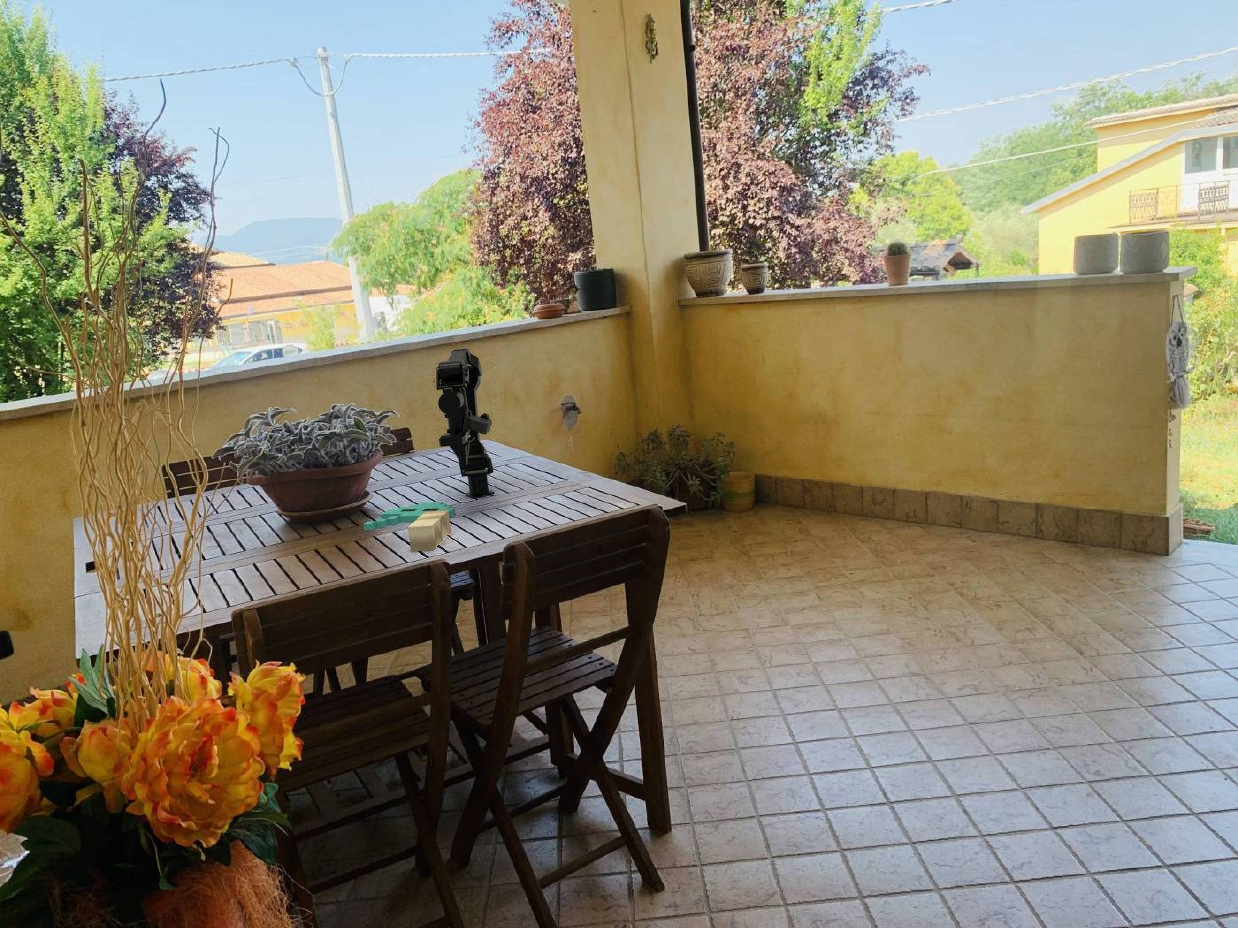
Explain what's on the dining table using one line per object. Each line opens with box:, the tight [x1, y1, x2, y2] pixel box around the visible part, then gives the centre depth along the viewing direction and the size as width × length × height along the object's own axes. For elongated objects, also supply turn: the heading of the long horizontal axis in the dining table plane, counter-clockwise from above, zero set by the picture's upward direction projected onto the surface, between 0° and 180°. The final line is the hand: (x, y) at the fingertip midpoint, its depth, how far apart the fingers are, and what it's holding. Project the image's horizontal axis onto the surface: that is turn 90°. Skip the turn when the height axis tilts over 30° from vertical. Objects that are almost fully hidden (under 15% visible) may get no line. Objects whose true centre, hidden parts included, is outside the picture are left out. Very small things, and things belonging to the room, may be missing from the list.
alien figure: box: [363, 501, 456, 531], centre depth 247 cm, size 20×2×20 cm
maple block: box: [407, 511, 452, 552], centre depth 224 cm, size 6×6×13 cm
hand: (464, 465), depth 246 cm, fingers closed
